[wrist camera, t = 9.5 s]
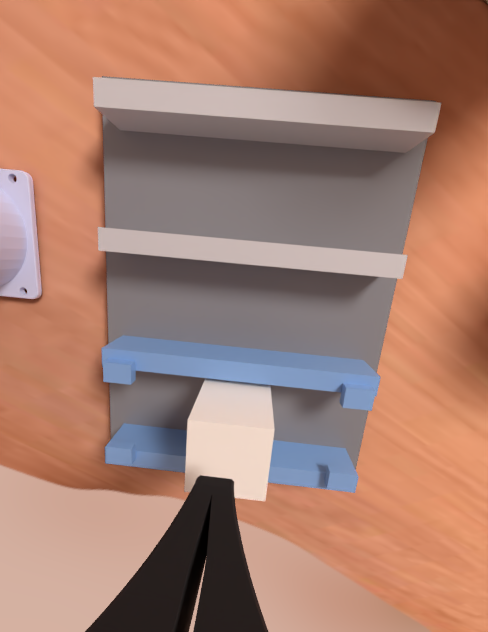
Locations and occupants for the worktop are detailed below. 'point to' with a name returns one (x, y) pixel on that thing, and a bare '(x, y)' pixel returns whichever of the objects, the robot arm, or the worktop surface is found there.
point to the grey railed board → (252, 261)
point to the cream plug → (231, 436)
